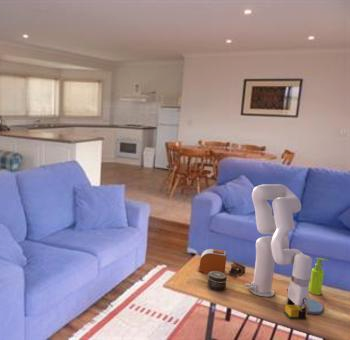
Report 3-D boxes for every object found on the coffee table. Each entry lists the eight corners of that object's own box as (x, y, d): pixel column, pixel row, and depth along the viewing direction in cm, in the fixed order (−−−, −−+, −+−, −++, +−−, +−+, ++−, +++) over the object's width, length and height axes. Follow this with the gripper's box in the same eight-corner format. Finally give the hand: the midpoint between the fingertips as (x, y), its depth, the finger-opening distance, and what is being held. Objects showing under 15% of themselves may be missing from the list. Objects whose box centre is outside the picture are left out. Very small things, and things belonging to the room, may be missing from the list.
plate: (298, 313, 184) (298, 311, 184) (281, 297, 200) (281, 295, 200) (329, 314, 185) (330, 311, 185) (310, 297, 201) (310, 295, 201)
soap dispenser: (324, 295, 204) (329, 261, 200) (310, 294, 205) (315, 260, 201) (320, 290, 209) (325, 257, 206) (307, 289, 211) (311, 255, 207)
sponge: (290, 318, 179) (291, 310, 179) (284, 312, 184) (285, 304, 184) (306, 318, 180) (307, 310, 179) (300, 313, 185) (301, 304, 184)
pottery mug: (224, 272, 229) (229, 260, 230) (236, 278, 230) (241, 266, 232) (235, 276, 217) (240, 263, 218) (248, 283, 219) (253, 269, 220)
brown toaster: (224, 270, 231) (226, 249, 228) (224, 276, 223) (226, 254, 220) (200, 266, 236) (202, 245, 233) (198, 271, 228) (200, 250, 226)
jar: (208, 281, 215) (209, 269, 213) (226, 285, 211) (228, 273, 209) (205, 288, 206) (207, 276, 205) (224, 293, 202) (226, 280, 200)
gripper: (283, 272, 187) (278, 303, 190) (303, 288, 170) (298, 323, 173) (297, 272, 188) (293, 304, 190) (319, 288, 170) (314, 323, 173)
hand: (295, 313), depth 182 cm, fingers open, 9 cm apart
